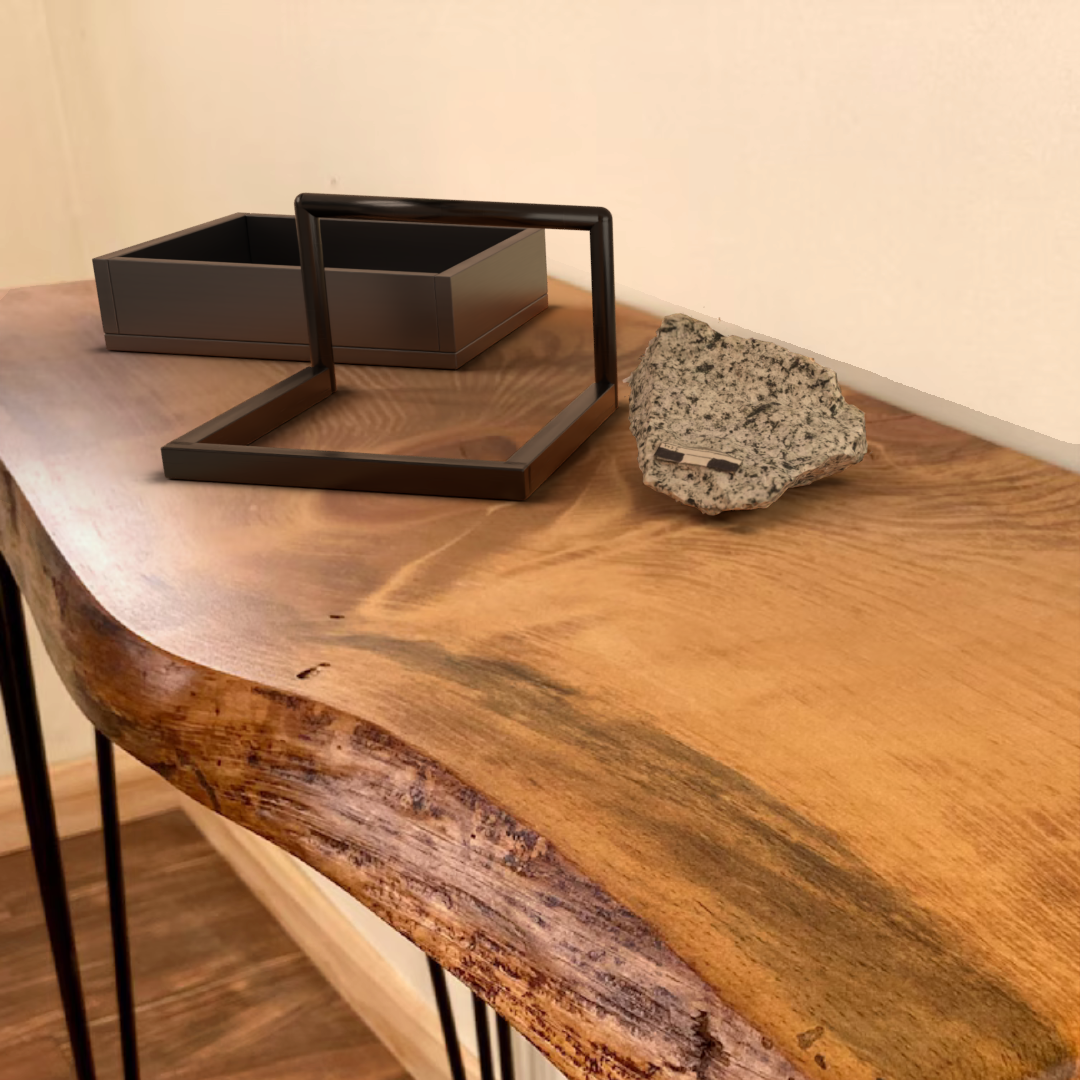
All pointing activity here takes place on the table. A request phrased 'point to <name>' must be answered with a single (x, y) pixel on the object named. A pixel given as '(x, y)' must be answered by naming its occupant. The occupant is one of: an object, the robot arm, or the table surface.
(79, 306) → the table surface
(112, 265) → the black shallow open box
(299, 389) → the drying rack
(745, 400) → the rock sample
